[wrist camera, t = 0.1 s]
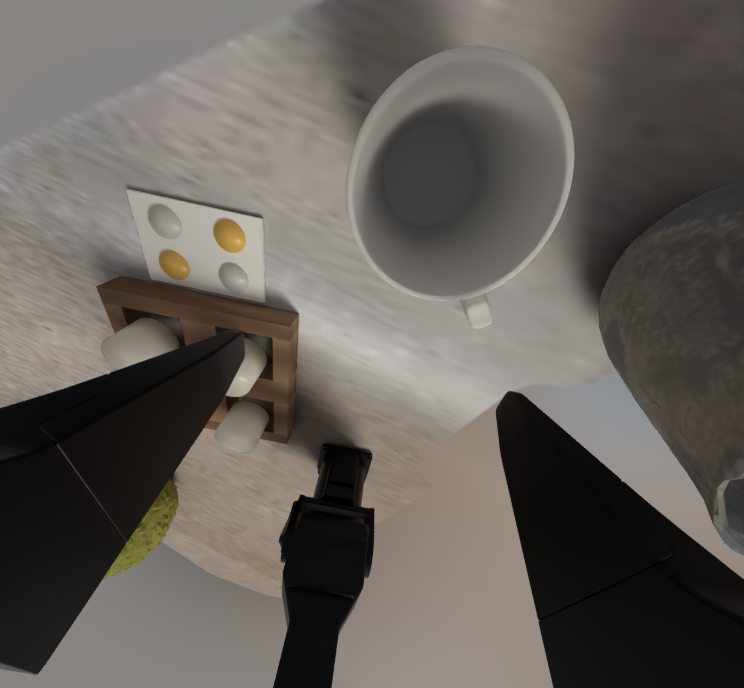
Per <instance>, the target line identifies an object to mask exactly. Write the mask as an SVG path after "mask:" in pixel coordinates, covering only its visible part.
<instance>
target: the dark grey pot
mask: <svg viewBox="0 0 744 688" xmlns="http://www.w3.org/2000/svg"><path fill="white" fill-rule="evenodd" d="M599 328H600V332H601V335H602V339H603V342H604V345H605V348H606V351H607V354H608V357H609V359H610V360H611V362H612V364H613V365H614V367H615V369H616V370H617V372H618V373H619V375H620V376H621V378H622V379H623V381H624V383H625V384H626V386H627V387H628V389H629V390H630V392H631V393H632V395H633V397H634V398H635V400H636V402H637V403H638V405H639V406H640V407H641V409H642V410H643V411H644V413H645V414H646V416H647V417H648V419H649V420H650V422H651V423H652V425H653V426H654V427H655V429H656V430H657V431H658V433H659V434H660V435H661V437H662V438H663V440H664V441H665V442H666V444H667V445H668V447H669V448H670V450H671V451H672V453H673V454H674V455H675V457H676V458H677V460H678V461H679V463H680V464H681V465H682V466H683V468H684V469H685V471H686V472H687V473H688V475H689V477H690V478H691V480H692V481H693V483H694V484H695V486H696V488H697V490H698V491H699V493H700V494H701V496H702V498H703V499H704V501H705V504H706V507H707V509H708V512H709V515H710V517H711V520H712V523H713V525H714V527H715V528H716V530H717V532H718V534H719V535H720V537H721V538H722V540H723V541H724V543H725V544H726V545H727V546H729V547H730V548H731V549H732V550H733V551H735V552H737V553H740V554H742V555H744V178H742V179H739V180H736V181H734V182H731V183H729V184H726V185H723V186H721V187H718V188H716V189H713V190H710V191H708V192H705V193H703V194H701V195H700V196H698V197H696V198H694V199H692V200H690V201H688V202H686V203H684V204H683V205H681V206H679V207H678V208H676V209H675V210H673V211H671V212H670V213H668V214H667V215H665V216H664V217H662V218H661V219H659V220H658V221H657V222H656V223H654V224H653V225H652V226H651V227H649V228H648V229H647V230H646V231H645V232H643V233H642V234H641V235H640V236H638V237H637V238H636V239H635V240H634V241H633V242H632V243H631V244H630V245H629V246H628V247H627V249H626V250H625V251H624V253H623V254H622V256H621V257H620V258H619V260H618V261H617V262H616V264H615V265H614V267H613V268H612V270H611V273H610V275H609V277H608V280H607V282H606V284H605V287H604V289H603V291H602V294H601V297H600V308H599Z"/></svg>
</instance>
